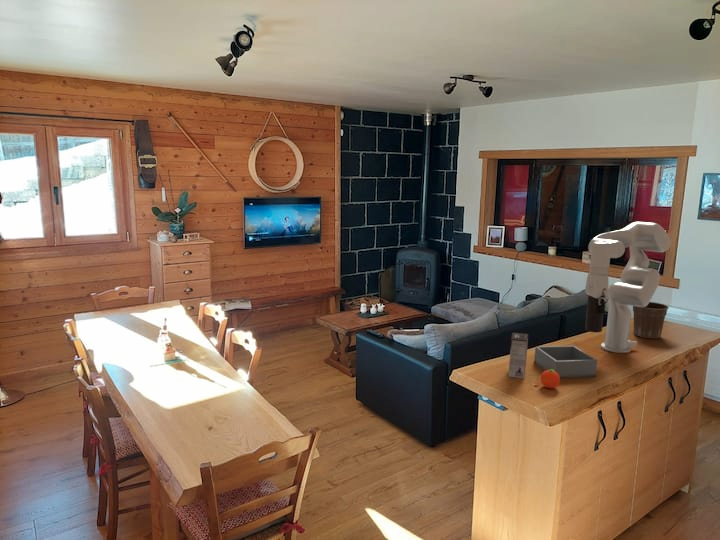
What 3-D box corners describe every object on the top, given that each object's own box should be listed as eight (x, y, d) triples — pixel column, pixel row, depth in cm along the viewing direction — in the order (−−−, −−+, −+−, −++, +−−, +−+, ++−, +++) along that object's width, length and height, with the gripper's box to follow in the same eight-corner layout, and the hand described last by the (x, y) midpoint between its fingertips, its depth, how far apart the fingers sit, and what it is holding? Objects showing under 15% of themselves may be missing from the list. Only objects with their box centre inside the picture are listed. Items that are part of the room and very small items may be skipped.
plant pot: (623, 334, 263) (626, 304, 260) (636, 328, 273) (639, 299, 270) (657, 342, 251) (661, 310, 248) (669, 336, 261) (673, 305, 258)
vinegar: (589, 326, 228) (593, 283, 224) (604, 330, 223) (608, 285, 219) (582, 330, 224) (585, 285, 220) (597, 333, 219) (601, 288, 215)
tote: (572, 360, 224) (573, 345, 223) (595, 376, 207) (597, 360, 206) (534, 362, 222) (535, 346, 220) (554, 378, 205) (556, 361, 203)
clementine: (545, 381, 201) (546, 364, 200) (563, 386, 196) (564, 369, 195) (536, 387, 195) (538, 370, 194) (555, 393, 191) (556, 375, 189)
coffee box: (509, 368, 214) (512, 331, 211) (525, 370, 212) (528, 333, 209) (508, 376, 205) (510, 338, 202) (524, 379, 203) (527, 340, 200)
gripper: (579, 267, 226) (576, 306, 229) (602, 275, 209) (598, 317, 213) (595, 266, 227) (591, 305, 230) (619, 274, 210) (615, 316, 213)
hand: (595, 310), depth 221 cm, fingers closed on vinegar, 6 cm apart
